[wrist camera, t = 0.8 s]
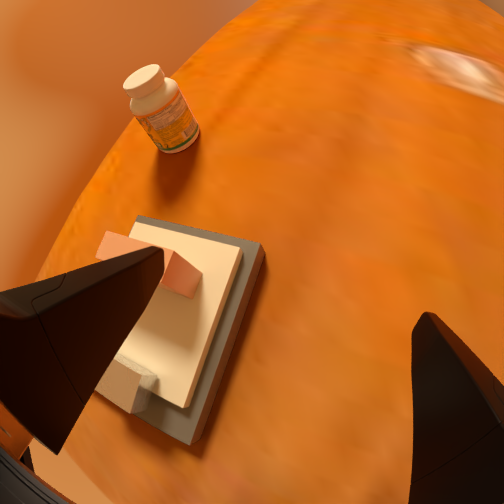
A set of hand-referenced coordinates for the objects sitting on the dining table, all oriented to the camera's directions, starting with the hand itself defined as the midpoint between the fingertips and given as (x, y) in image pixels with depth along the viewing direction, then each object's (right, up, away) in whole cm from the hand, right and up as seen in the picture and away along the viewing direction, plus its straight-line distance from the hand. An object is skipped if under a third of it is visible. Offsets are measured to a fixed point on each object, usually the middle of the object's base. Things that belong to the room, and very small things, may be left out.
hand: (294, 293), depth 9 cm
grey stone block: (-11, -8, +9) cm, 16 cm away
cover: (-8, -3, +12) cm, 15 cm away
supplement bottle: (-10, +14, +22) cm, 28 cm away
